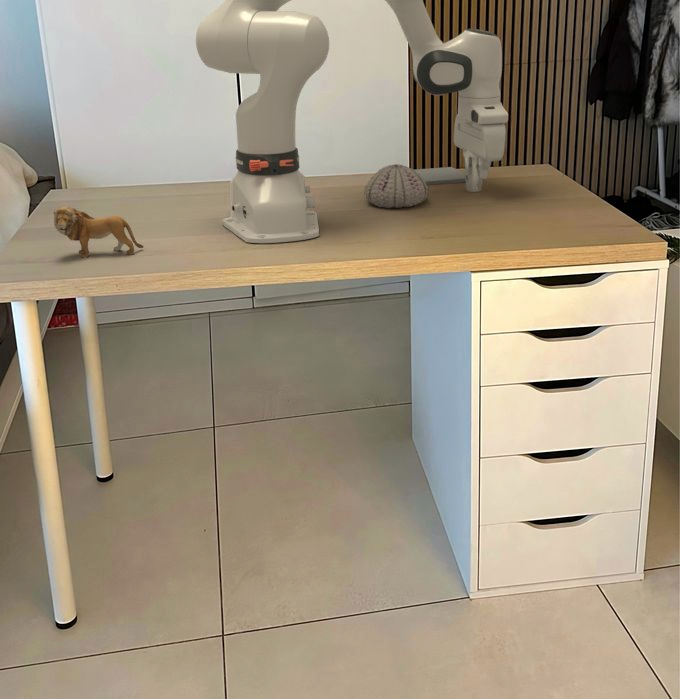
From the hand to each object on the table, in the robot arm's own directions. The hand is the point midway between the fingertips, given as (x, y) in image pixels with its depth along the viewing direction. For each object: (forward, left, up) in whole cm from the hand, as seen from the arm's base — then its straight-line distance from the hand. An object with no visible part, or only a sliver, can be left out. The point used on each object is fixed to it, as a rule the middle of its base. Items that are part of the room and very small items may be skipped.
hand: (476, 174), depth 200 cm
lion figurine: (-24, +81, -4) cm, 85 cm away
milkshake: (0, 0, -4) cm, 4 cm away
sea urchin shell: (-5, +20, -4) cm, 21 cm away
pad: (+15, +4, -4) cm, 16 cm away
